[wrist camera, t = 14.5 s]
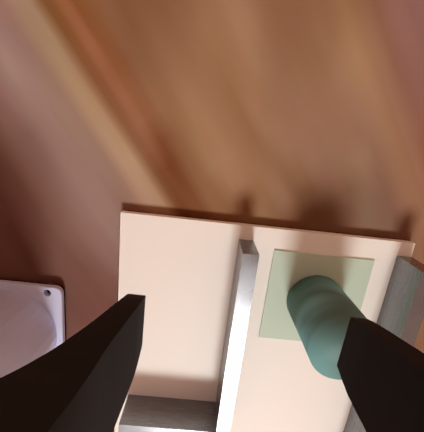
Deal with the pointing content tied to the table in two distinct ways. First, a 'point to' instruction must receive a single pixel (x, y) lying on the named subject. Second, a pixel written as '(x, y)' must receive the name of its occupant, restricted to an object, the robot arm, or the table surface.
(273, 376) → the maze board
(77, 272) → the table surface
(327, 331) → the peg
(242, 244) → the guide walls
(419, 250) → the table surface
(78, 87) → the table surface
